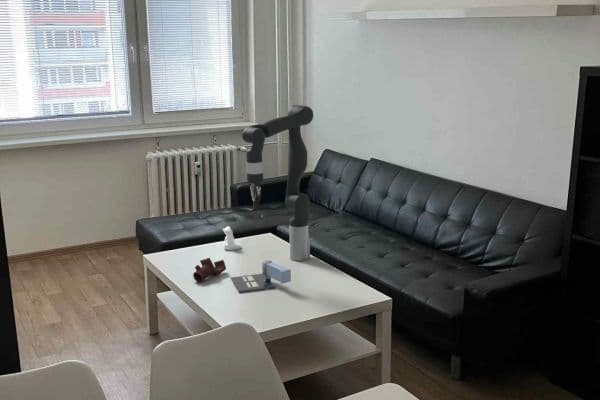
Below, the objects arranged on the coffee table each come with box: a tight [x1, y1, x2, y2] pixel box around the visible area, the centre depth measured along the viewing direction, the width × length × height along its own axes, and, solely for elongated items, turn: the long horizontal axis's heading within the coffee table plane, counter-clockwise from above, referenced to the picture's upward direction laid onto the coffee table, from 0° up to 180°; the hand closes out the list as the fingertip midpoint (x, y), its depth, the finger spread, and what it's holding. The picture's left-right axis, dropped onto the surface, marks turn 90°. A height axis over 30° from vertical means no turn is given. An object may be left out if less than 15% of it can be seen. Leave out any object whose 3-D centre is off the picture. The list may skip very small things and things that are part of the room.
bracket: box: [192, 257, 227, 284], centre depth 318 cm, size 6×17×10 cm, turn 147°
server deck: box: [230, 273, 276, 294], centre depth 309 cm, size 16×18×4 cm
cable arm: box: [261, 259, 292, 285], centre depth 305 cm, size 17×5×6 cm, turn 36°
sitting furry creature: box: [222, 226, 243, 251], centre depth 360 cm, size 10×9×12 cm
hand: (256, 208), depth 316 cm, fingers closed
